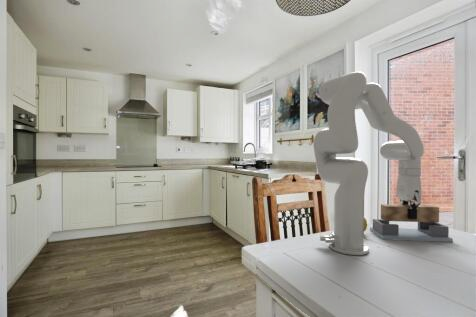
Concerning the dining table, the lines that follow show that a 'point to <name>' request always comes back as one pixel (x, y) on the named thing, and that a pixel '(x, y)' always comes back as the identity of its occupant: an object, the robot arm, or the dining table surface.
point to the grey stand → (411, 231)
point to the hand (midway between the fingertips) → (408, 216)
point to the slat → (401, 213)
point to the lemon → (365, 224)
